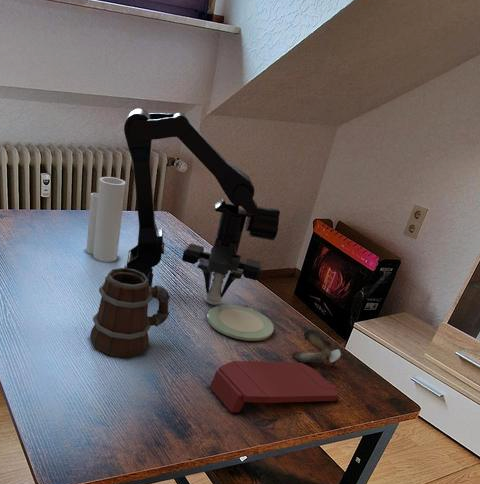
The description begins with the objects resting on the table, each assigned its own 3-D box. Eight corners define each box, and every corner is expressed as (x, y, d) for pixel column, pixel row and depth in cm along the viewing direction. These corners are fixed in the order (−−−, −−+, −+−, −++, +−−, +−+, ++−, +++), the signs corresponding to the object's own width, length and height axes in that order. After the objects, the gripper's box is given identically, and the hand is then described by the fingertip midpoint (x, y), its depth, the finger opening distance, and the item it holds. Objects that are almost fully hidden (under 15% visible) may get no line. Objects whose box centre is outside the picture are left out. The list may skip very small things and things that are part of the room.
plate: (231, 346, 118) (233, 341, 117) (193, 312, 129) (195, 307, 128) (286, 337, 126) (287, 332, 125) (246, 306, 136) (247, 301, 135)
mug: (99, 359, 106) (106, 289, 97) (85, 329, 114) (91, 262, 105) (172, 356, 111) (186, 289, 102) (154, 327, 120) (165, 263, 111)
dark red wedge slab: (296, 381, 118) (204, 381, 105) (306, 362, 115) (213, 360, 102) (331, 414, 110) (236, 419, 97) (343, 395, 107) (247, 397, 94)
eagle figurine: (335, 351, 122) (299, 335, 122) (351, 337, 115) (313, 320, 115) (326, 379, 119) (290, 363, 119) (342, 367, 113) (303, 350, 112)
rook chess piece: (203, 296, 136) (209, 266, 131) (220, 298, 136) (227, 269, 132) (205, 304, 132) (212, 274, 127) (222, 306, 133) (230, 276, 128)
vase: (121, 261, 146) (130, 185, 134) (97, 262, 143) (104, 184, 131) (104, 244, 153) (111, 171, 141) (80, 246, 150) (86, 170, 138)
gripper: (183, 232, 118) (170, 297, 128) (265, 253, 116) (246, 317, 126) (193, 219, 127) (181, 280, 137) (270, 238, 125) (252, 299, 134)
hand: (214, 294), depth 133 cm, fingers closed on rook chess piece, 3 cm apart
